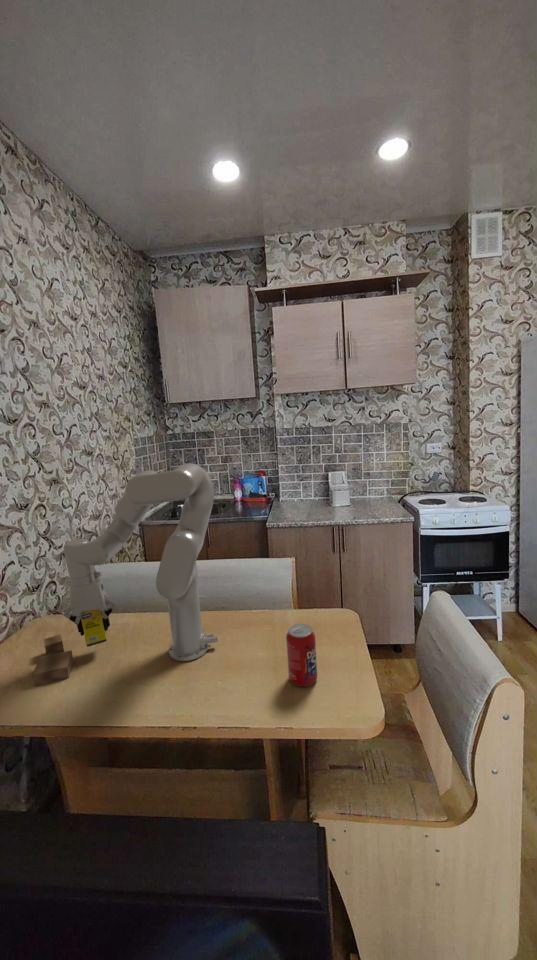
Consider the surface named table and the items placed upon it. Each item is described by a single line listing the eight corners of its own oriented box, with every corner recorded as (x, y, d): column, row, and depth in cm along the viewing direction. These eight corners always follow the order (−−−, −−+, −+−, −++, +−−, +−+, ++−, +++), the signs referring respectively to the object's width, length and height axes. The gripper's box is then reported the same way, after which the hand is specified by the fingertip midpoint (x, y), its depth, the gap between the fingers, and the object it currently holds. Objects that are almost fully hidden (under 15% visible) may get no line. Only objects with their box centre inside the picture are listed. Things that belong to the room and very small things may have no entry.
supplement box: (107, 641, 132) (100, 609, 130) (86, 647, 130) (79, 615, 128) (106, 632, 137) (100, 602, 135) (87, 638, 135) (80, 607, 133)
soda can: (284, 675, 118) (281, 626, 115) (309, 667, 120) (306, 619, 118) (296, 692, 110) (292, 641, 108) (322, 683, 113) (319, 633, 110)
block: (63, 647, 140) (60, 634, 139) (64, 654, 135) (62, 640, 134) (46, 653, 137) (43, 639, 136) (47, 660, 133) (44, 646, 132)
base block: (73, 661, 132) (71, 650, 131) (68, 679, 123) (66, 666, 122) (42, 668, 129) (39, 657, 128) (35, 686, 121) (32, 674, 120)
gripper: (114, 569, 135) (124, 619, 138) (57, 579, 132) (69, 630, 135) (110, 578, 128) (121, 631, 131) (50, 589, 125) (63, 643, 128)
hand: (95, 630), depth 133 cm, fingers closed on supplement box, 6 cm apart
